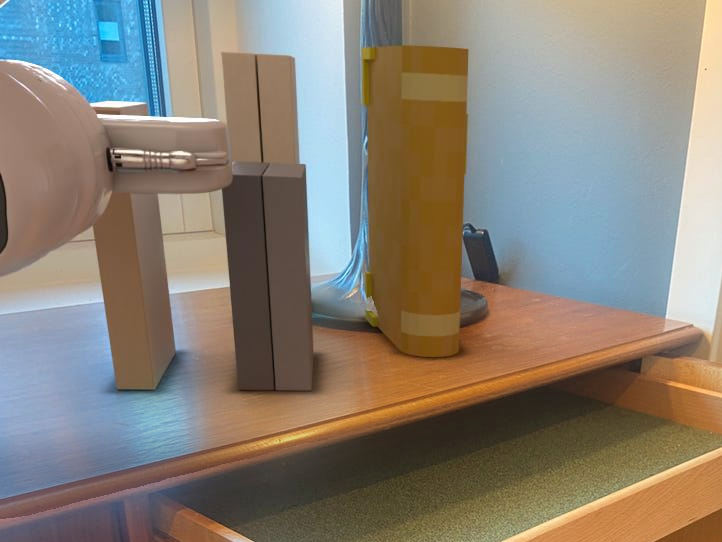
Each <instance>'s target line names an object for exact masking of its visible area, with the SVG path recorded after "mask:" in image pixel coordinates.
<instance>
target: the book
mask: <svg viewBox="0 0 722 542" xmlns="http://www.w3.org/2000/svg"><path fill="white" fill-rule="evenodd" d="M360 50H361V51H360V53H361V55H360V56H361V106H362V107H363V106H364V107H366V123H367V124H366V125H367V126H366V128H367V131H366V133H367V138H366V139H367V194H368V195H367V198H368V199H367V200H368V203H367V204H368V205H367V206H368V208H367V209H368V266H369V267H368V268H369V269H368V271H364V291H365V292H364V294H365V293H366V296H367V298H368V297H370V296H372V299H373V301H374V305H375V307H376V310H377V314H378V316H379V318H378V317H377V316H376V315H375V314H374V313H373V312H372V311H367V310H366V309H365V311H364V312H365V320H366V321H367V322H368V323H369V324H370V325H371V326H372V327H373V328H378V329H379V330H380V331H381V332H382V333H383V334H384V335H385V336H386V338H388V340H389V341H390V342H391V343H392V344H393V345H394V346H395V347H396V348H397V350H398V351H400V352H401V353H402V354H405V355H409V356H414V357H422V358H444V357H450V356H454V355H456V354H458V353H459V351H460V329H461V328H460V326H461V297H462V296H461V295H462V264H463V238H464V237H463V231H464V207H465V206H464V205H465V203H464V202H465V176H466V175H467V156H468V155H467V151H468V128H469V127H468V125H469V124H468V123H469V114H468V112H467V110H468V109H467V108H468V106H467V105H468V77H469V51H470V50H469V49H468V48H463V47H462V48H461V47H449V46H433V45H432V46H429V45H411V44H410V45H406V44H404V45H403V44H402V45H401V44H400V45H388V46H387V45H385V46H362V47H361V48H360Z"/></svg>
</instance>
